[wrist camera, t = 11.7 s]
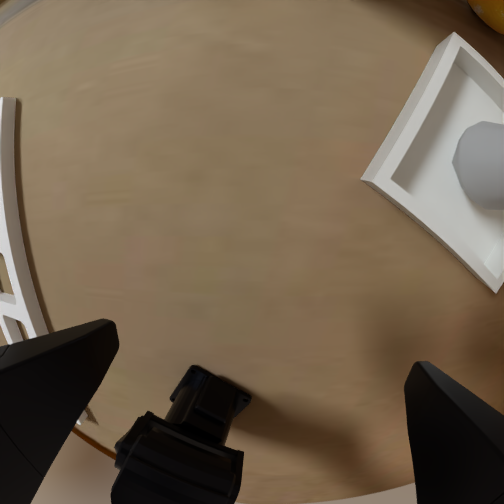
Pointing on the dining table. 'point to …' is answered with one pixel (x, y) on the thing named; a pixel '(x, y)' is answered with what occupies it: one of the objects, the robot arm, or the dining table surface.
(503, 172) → the salt shaker
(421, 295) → the dining table surface
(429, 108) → the dish
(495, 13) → the fruit
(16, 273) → the holder
